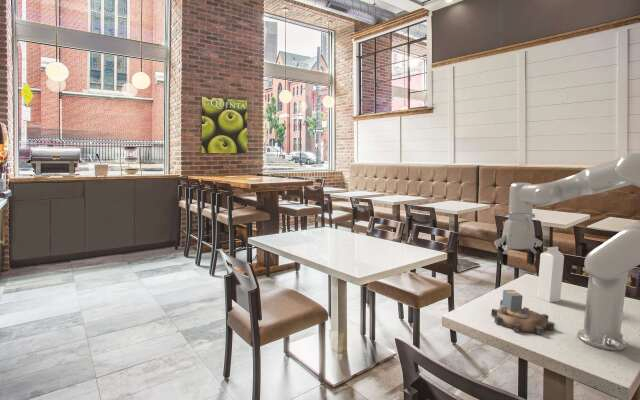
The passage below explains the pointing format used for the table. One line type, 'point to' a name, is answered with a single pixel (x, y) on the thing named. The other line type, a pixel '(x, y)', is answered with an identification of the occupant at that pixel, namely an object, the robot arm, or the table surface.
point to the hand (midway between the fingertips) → (517, 264)
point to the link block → (512, 300)
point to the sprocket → (522, 320)
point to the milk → (550, 275)
